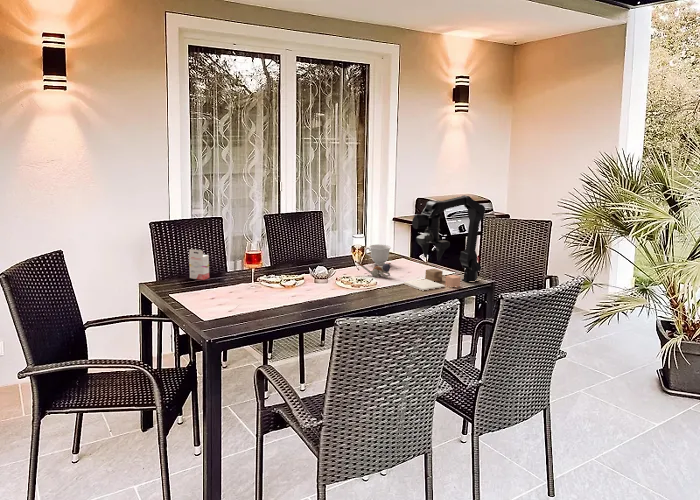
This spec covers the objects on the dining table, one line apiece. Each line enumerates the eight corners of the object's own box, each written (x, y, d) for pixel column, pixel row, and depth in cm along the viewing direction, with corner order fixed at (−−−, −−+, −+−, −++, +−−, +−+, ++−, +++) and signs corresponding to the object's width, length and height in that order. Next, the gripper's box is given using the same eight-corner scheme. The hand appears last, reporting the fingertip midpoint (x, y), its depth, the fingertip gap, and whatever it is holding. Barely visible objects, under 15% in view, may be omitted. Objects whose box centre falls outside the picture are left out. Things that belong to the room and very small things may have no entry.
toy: (383, 284, 299) (393, 268, 296) (353, 266, 300) (362, 250, 298) (386, 280, 308) (395, 264, 305) (357, 262, 309) (366, 246, 306)
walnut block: (434, 277, 303) (434, 268, 302) (442, 280, 298) (442, 271, 297) (425, 279, 300) (425, 269, 299) (433, 282, 295) (433, 272, 294)
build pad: (426, 280, 296) (426, 278, 296) (444, 287, 285) (445, 285, 285) (404, 284, 289) (404, 282, 288) (422, 291, 277) (422, 289, 277)
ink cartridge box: (209, 278, 290) (209, 248, 287) (203, 280, 285) (203, 250, 282) (195, 276, 293) (194, 247, 290) (189, 278, 288) (188, 249, 285)
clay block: (452, 284, 291) (453, 274, 290) (459, 287, 287) (460, 277, 286) (445, 285, 288) (445, 276, 287) (452, 288, 284) (452, 278, 283)
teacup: (361, 262, 333) (362, 244, 331) (386, 261, 337) (387, 244, 335) (367, 267, 322) (367, 249, 320) (393, 266, 325) (393, 248, 323)
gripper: (407, 226, 285) (406, 257, 288) (433, 232, 270) (432, 265, 273) (424, 223, 291) (423, 254, 294) (451, 229, 276) (449, 262, 279)
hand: (431, 258), depth 285 cm, fingers open, 9 cm apart
